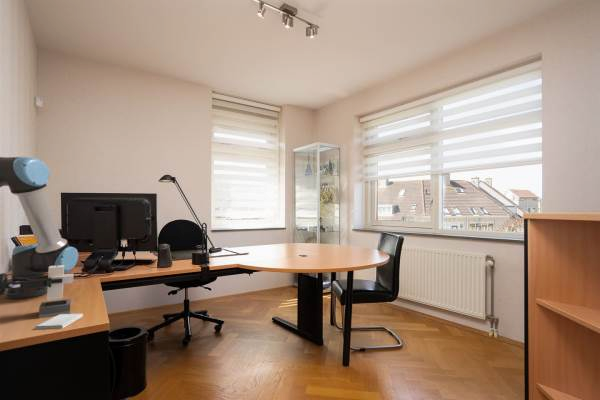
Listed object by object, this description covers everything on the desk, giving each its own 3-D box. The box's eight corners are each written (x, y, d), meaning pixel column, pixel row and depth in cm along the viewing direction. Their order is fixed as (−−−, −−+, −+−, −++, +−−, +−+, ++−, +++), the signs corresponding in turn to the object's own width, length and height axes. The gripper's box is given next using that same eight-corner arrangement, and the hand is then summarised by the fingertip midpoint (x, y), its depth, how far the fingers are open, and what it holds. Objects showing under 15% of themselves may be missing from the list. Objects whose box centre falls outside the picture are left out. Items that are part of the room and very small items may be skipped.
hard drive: (62, 325, 102) (83, 313, 114) (34, 326, 101) (58, 313, 113) (62, 330, 102) (83, 317, 114) (34, 331, 101) (58, 318, 113)
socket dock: (41, 311, 119) (41, 302, 119) (70, 307, 124) (70, 298, 124) (38, 318, 112) (39, 308, 112) (69, 313, 117) (70, 304, 117)
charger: (47, 297, 118) (49, 265, 119) (62, 296, 121) (64, 264, 122) (46, 300, 115) (48, 266, 115) (62, 298, 117) (63, 265, 118)
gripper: (-5, 291, 115) (73, 283, 128) (-17, 302, 101) (72, 292, 114) (-4, 270, 115) (74, 265, 129) (-15, 278, 101) (73, 271, 114)
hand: (73, 278), depth 121 cm, fingers closed on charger, 4 cm apart
